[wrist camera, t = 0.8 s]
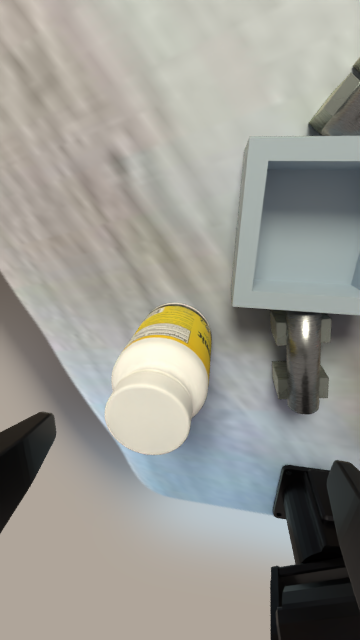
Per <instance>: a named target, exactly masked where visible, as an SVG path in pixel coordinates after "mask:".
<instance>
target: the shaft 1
mask: <svg viewBox="0 0 360 640" xmlns="http://www.w3.org/2000/svg"><path fill="white" fill-rule="evenodd" d="M270 318H271V332H272V334H273V337H274V339H275V342H276V344H277V346H283V345H287V361H272V374H273V382H274V385H275V389H276V392H277V396H278V399H287V404H288V407H289V408H290V409H291V410H293V411H294V412H297V413H300V414H312V413H315V412H316V411H317V410H318V408H319V398H328V382H329V377H328V376H327V374H326V373H325V371H324V370H323V368H322V366H321V365H320V355H321V343H329V342H330V339H331V318H330V317H329V316H328V315H327V314H326V313H319V312H304V311H290V310H270Z"/></svg>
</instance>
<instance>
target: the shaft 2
mask: <svg viewBox="0 0 360 640" xmlns="http://www.w3.org/2000/svg"><path fill="white" fill-rule="evenodd" d="M353 67H354V68H355V69H356V70H357V71H358V72H359V73H360V57H359V59H358V60H357V61H356V63H355V64H354V65H353ZM309 124H310V125H311V126H312V127H313V128H314V129H315V130H317V131H318V132H319V133H320V134H321V135H322V136H360V80H359V79H358V78H357V77H356V76H354V75H353V74H352V73H350V74H349V75H348V76H347V77H346V79H345V80H344V81H343V82H342V83H341V84H340V85H339V86H338V87H337V88H336V89H335V90H334V91H333V93H332V94H331V95H330V96H329V97H328V99H327V100H326V101H325V103H324V104H323V105H322V106H321V108H320V109H319V110H318V112H317V113H316V114H315V115H314V117H313V118H312V119H311V121H310V122H309Z"/></svg>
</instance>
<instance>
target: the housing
mask: <svg viewBox="0 0 360 640" xmlns="http://www.w3.org/2000/svg"><path fill="white" fill-rule="evenodd" d="M231 297H232V307H246V308H261V309H275V310H290V311H304V312H319V313H333V314H348V315H360V136H255V137H249V140H248V143H247V145H246V148H245V151H244V159H243V170H242V180H241V190H240V201H239V211H238V221H237V232H236V242H235V252H234V263H233V273H232V284H231Z"/></svg>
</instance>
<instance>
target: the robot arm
mask: <svg viewBox="0 0 360 640" xmlns="http://www.w3.org/2000/svg"><path fill="white" fill-rule="evenodd" d="M55 437H56V426H55V418H54V415H53V414H52V413H47V412H39V413H37V414H35V415H33V416H31V417H29V418H27V419H25V420H23V421H21V422H20V423H18V424H16V425H14V426H12V427H10V428H8V429H6V430H4V431H2V432H0V533H1V532H2V530H3V528H4V527H5V525H6V524H7V522H8V520H9V519H10V517H11V516H12V514H13V513H14V511H15V509H16V508H17V506H18V505H19V503H20V502H21V500H22V499H23V497H24V495H25V494H26V492H27V491H28V489H29V487H30V486H31V484H32V482H33V480H34V479H35V477H36V474H37V473H38V471H39V469H40V467H41V465H42V463H43V461H44V459H45V457H46V455H47V453H48V451H49V449H50V447H51V446H52V444H53V442H54V439H55ZM273 514H274V516H275V517H276V518H281V519H286V520H287V525H288V530H289V534H290V539H291V544H292V549H293V554H294V559H295V564H296V565H290V566H284V567H278V566H274V567H271V581H270V582H271V584H270V585H271V587H270V590H271V592H270V593H271V640H360V471H359V470H358V469H357V468H356V467H355V466H354V465H353V464H351V463H349V462H345V461H339V460H336V461H334V463H333V465H332V467H331V470H330V471H329V470H321V469H314V468H307V467H299V466H292V465H285V466H283V468H282V471H281V476H280V480H279V485H278V489H277V494H276V498H275V502H274V507H273Z"/></svg>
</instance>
